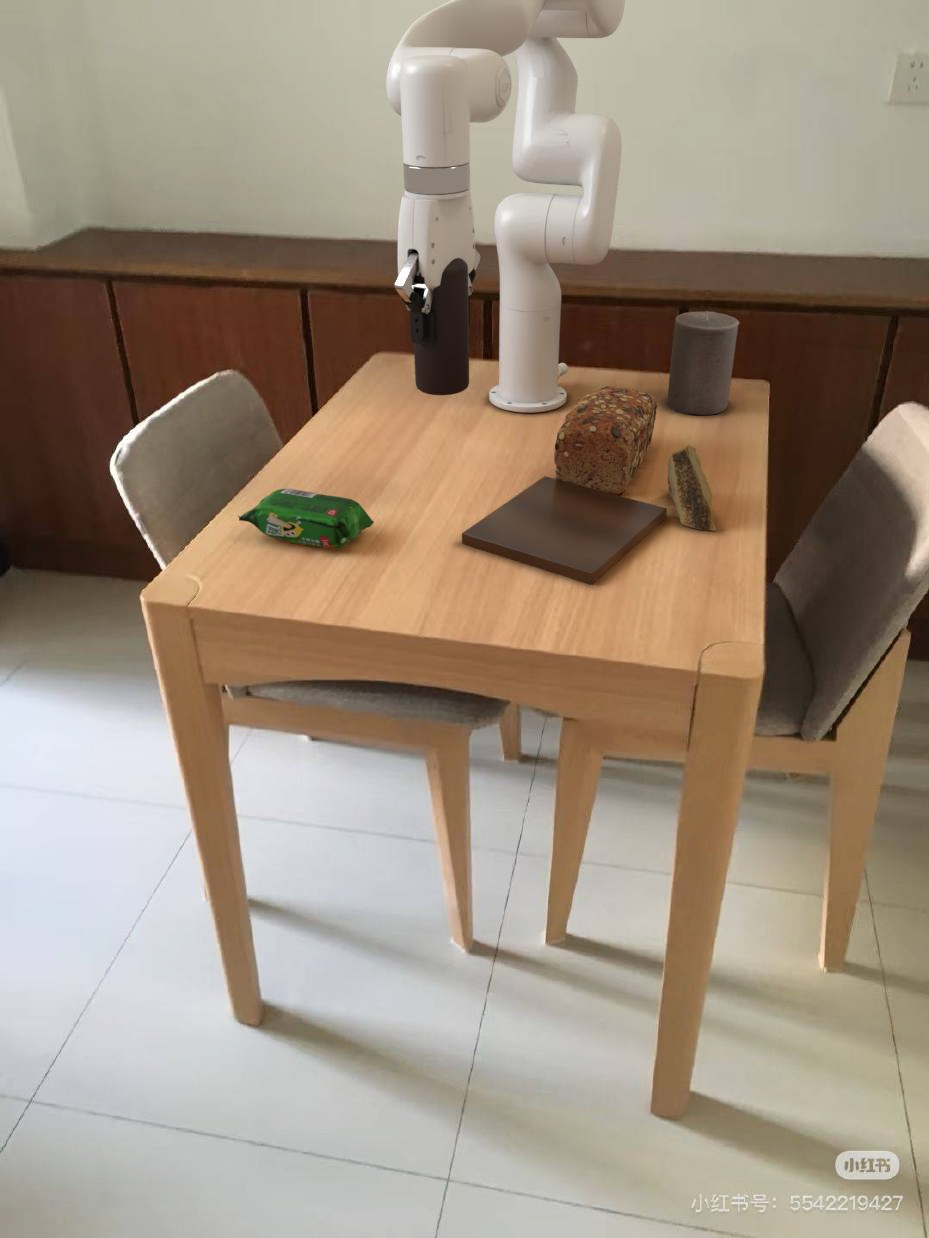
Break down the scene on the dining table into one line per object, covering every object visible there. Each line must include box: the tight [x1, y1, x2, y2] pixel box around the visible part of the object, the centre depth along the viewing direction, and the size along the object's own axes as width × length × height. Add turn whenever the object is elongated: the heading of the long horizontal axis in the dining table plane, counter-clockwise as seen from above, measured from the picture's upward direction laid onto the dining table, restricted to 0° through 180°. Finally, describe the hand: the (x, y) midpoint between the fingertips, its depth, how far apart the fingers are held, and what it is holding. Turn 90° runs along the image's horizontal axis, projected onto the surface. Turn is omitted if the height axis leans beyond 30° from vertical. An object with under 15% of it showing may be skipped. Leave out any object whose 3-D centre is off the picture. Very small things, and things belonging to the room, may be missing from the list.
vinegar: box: [413, 219, 470, 396], centre depth 124 cm, size 7×7×20 cm
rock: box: [667, 444, 718, 532], centre depth 131 cm, size 11×9×10 cm
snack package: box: [237, 488, 375, 550], centre depth 126 cm, size 7×16×5 cm, turn 70°
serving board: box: [461, 475, 668, 585], centre depth 128 cm, size 20×18×2 cm
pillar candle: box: [666, 310, 740, 416], centre depth 161 cm, size 10×10×15 cm
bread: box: [553, 385, 658, 495], centre depth 142 cm, size 19×11×10 cm, turn 159°
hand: (441, 334), depth 126 cm, fingers closed on vinegar, 6 cm apart
